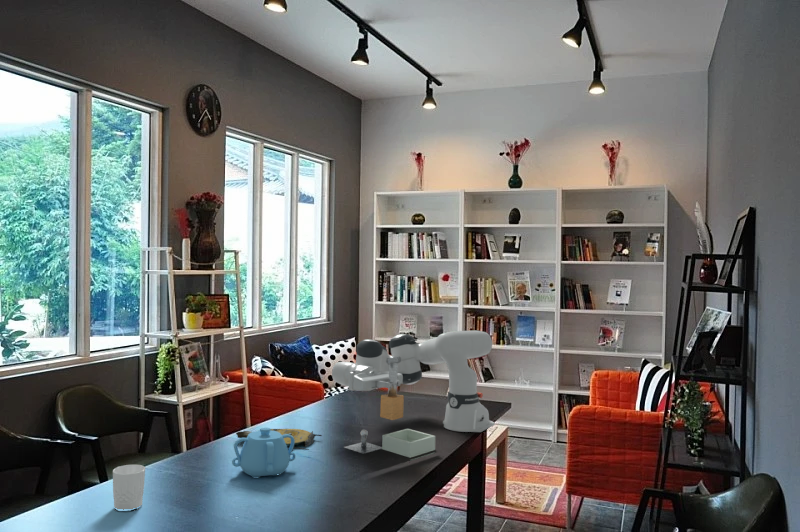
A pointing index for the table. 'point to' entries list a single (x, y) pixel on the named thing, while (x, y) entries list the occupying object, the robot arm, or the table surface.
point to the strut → (392, 393)
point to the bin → (408, 443)
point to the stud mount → (363, 444)
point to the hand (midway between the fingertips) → (394, 384)
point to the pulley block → (299, 435)
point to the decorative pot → (264, 453)
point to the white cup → (128, 486)
